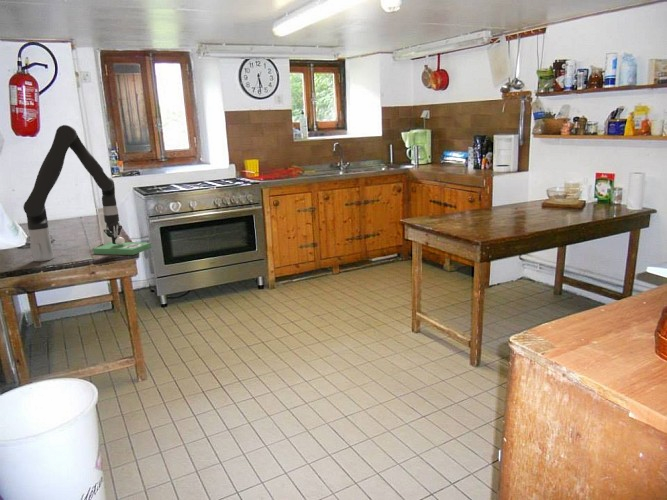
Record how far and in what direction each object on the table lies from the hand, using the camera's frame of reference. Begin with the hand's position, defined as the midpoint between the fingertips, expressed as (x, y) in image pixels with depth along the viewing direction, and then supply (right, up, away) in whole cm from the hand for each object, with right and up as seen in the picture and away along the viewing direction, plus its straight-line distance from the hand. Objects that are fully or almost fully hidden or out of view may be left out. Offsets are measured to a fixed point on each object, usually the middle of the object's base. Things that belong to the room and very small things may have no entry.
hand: (115, 243), depth 279 cm
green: (+5, -4, 0) cm, 6 cm away
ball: (+3, +1, -2) cm, 4 cm away
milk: (-13, 0, +21) cm, 25 cm away
